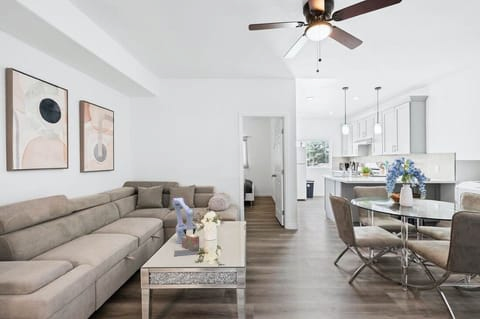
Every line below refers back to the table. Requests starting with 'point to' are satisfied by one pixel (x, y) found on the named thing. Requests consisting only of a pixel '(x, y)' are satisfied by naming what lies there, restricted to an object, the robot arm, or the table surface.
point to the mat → (185, 252)
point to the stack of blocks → (190, 242)
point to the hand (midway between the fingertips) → (189, 237)
